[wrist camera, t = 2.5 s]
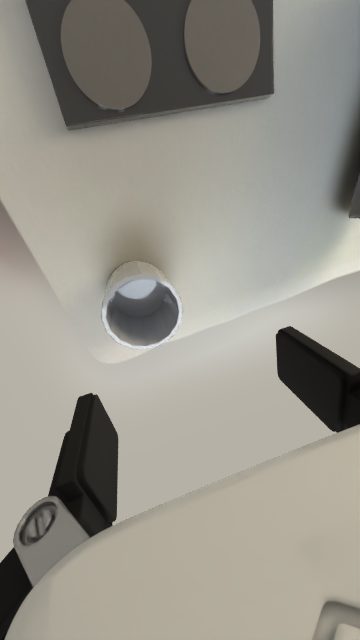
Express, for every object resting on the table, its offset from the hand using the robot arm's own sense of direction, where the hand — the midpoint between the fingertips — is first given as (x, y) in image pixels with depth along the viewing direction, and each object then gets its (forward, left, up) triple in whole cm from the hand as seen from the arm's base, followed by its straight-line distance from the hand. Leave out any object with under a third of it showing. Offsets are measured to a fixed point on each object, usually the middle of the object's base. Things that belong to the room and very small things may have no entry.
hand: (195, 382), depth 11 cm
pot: (-2, 0, -18) cm, 19 cm away
